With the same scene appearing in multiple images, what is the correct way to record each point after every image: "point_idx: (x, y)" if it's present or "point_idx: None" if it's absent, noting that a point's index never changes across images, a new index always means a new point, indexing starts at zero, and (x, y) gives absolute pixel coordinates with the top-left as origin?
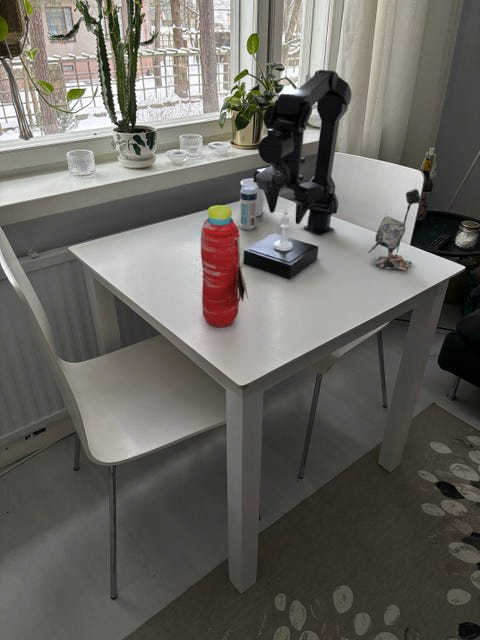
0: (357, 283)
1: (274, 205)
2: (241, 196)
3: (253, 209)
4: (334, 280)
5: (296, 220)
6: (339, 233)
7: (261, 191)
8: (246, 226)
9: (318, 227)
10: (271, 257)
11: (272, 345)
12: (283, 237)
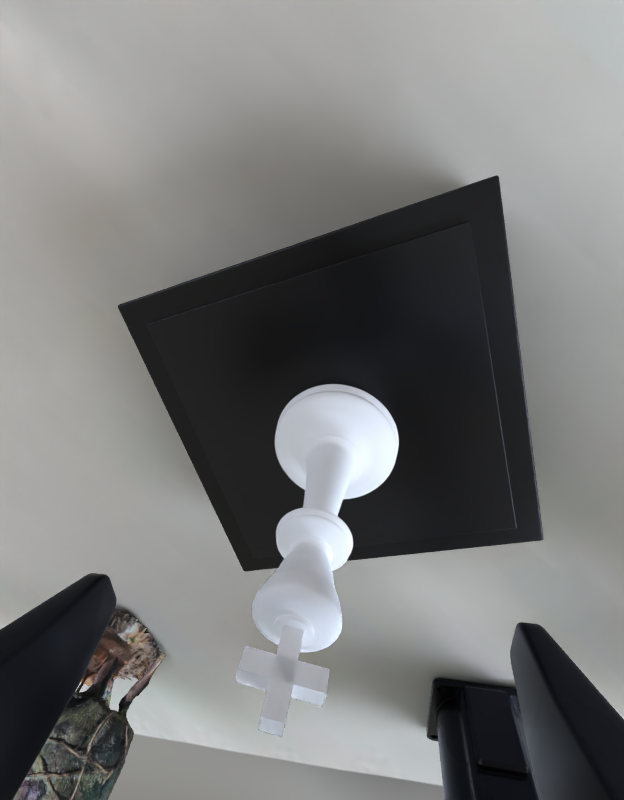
0: (46, 483)
1: (543, 759)
2: None
3: None
4: (93, 442)
5: (62, 601)
6: (393, 722)
7: None
8: None
9: (457, 717)
10: (263, 278)
11: None
12: (312, 467)
